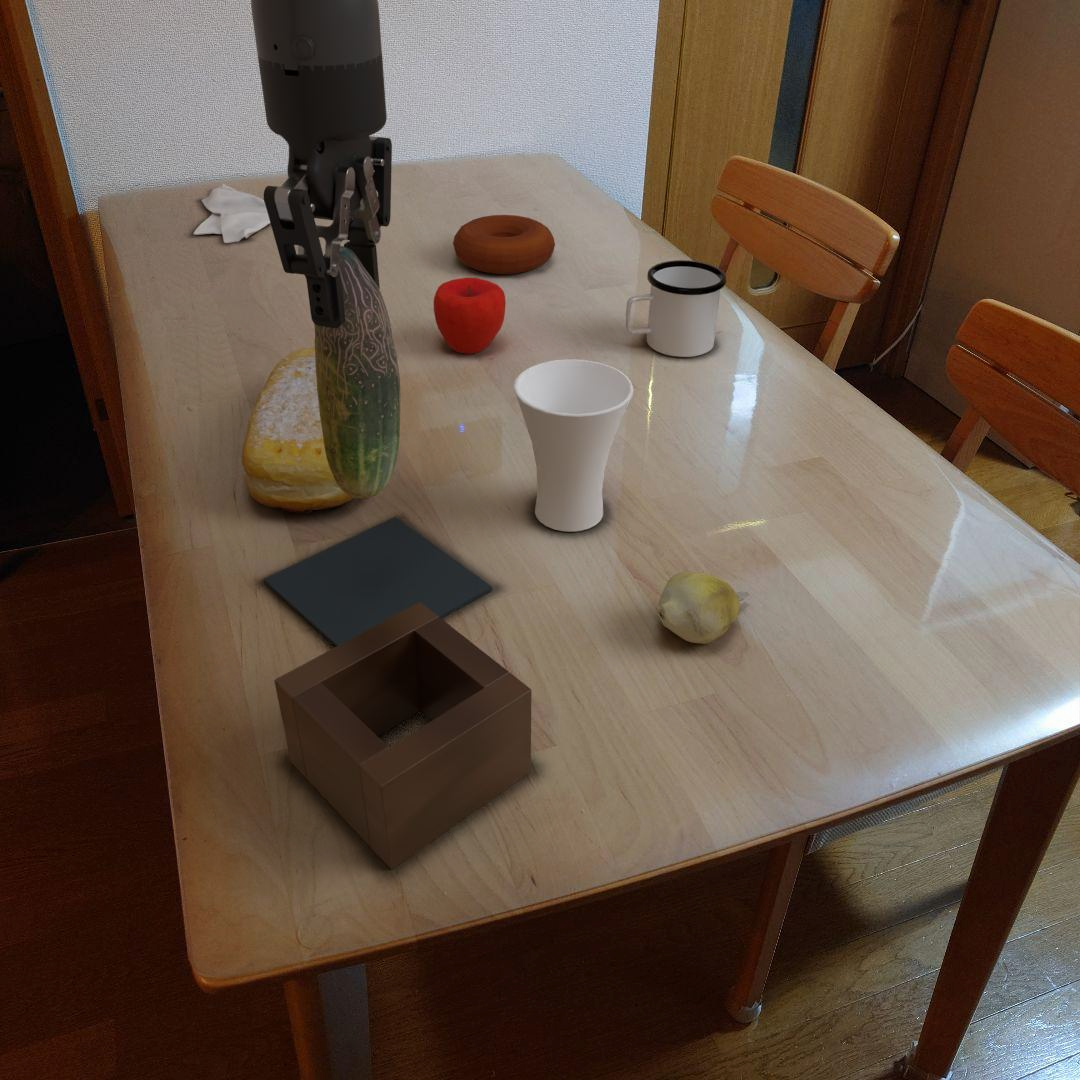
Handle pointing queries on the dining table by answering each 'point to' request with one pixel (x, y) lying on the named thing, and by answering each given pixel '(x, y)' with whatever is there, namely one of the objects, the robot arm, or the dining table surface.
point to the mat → (374, 581)
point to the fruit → (698, 606)
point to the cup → (571, 435)
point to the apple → (469, 313)
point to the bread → (289, 441)
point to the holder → (423, 756)
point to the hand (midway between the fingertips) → (347, 308)
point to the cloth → (233, 214)
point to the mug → (681, 307)
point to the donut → (504, 244)
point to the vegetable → (359, 386)
